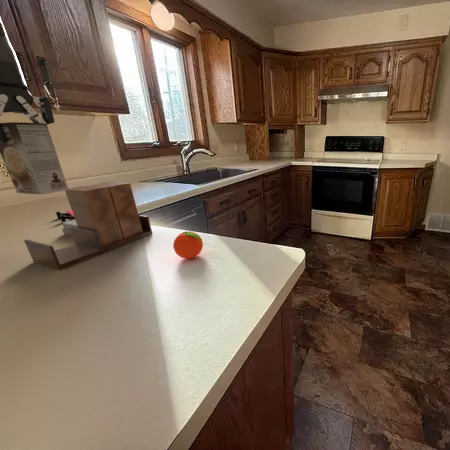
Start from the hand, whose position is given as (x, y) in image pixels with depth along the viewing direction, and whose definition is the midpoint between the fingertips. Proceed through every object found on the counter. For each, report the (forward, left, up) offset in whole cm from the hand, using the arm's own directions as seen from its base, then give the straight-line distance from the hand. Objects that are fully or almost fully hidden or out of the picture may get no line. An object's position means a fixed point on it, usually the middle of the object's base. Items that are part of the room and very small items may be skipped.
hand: (24, 142), depth 58 cm
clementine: (+10, -35, -30) cm, 47 cm away
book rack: (+6, -3, -29) cm, 30 cm away
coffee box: (0, 0, -12) cm, 12 cm away
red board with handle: (+23, +35, -30) cm, 52 cm away
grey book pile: (+12, +15, -29) cm, 35 cm away
